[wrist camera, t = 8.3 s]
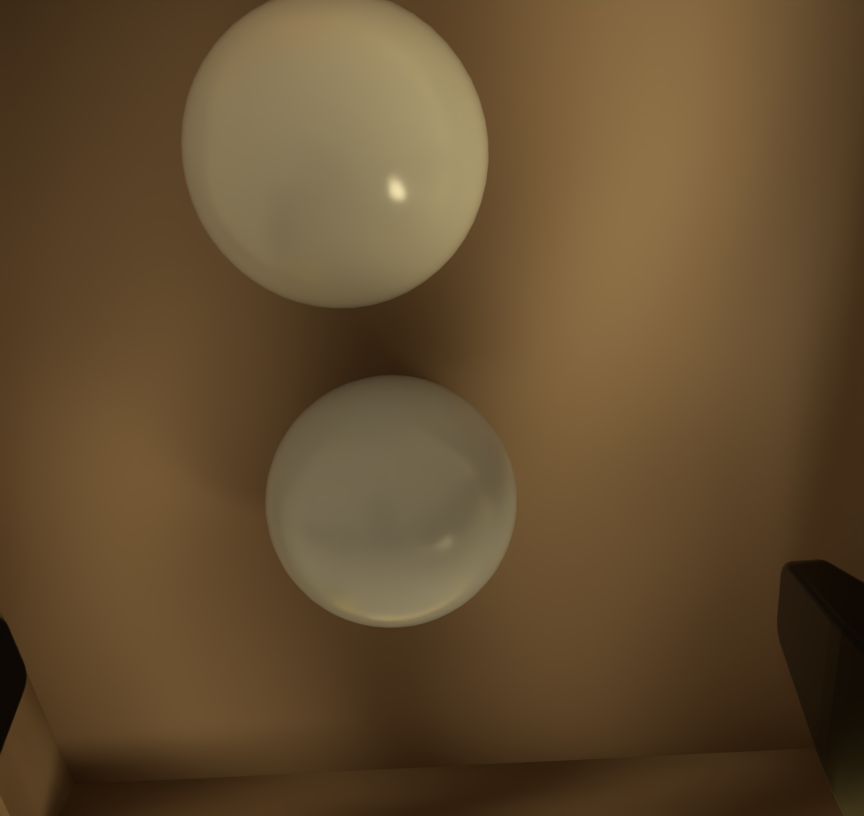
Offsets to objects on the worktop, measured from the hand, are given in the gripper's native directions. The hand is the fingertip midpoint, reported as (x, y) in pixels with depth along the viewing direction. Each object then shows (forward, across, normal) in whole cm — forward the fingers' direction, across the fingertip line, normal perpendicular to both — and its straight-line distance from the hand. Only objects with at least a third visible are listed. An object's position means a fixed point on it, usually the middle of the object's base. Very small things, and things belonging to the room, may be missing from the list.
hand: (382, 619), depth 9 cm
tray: (+5, 0, 0) cm, 5 cm away
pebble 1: (+3, 0, -5) cm, 5 cm away
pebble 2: (+3, 0, 0) cm, 3 cm away
